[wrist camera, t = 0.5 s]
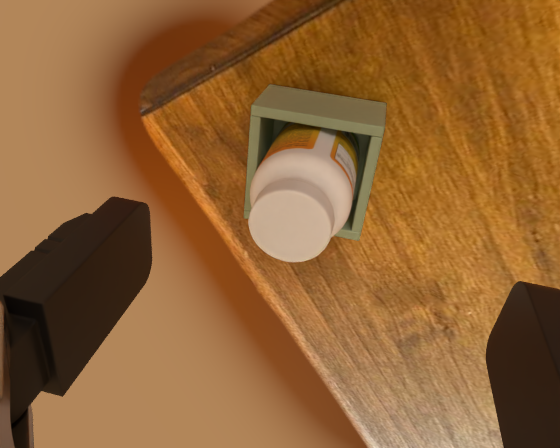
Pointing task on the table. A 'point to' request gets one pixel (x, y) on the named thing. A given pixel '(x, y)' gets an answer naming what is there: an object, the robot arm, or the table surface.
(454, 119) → the table surface
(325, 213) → the supplement bottle
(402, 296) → the table surface
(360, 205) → the caddy
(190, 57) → the table surface
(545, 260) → the table surface
